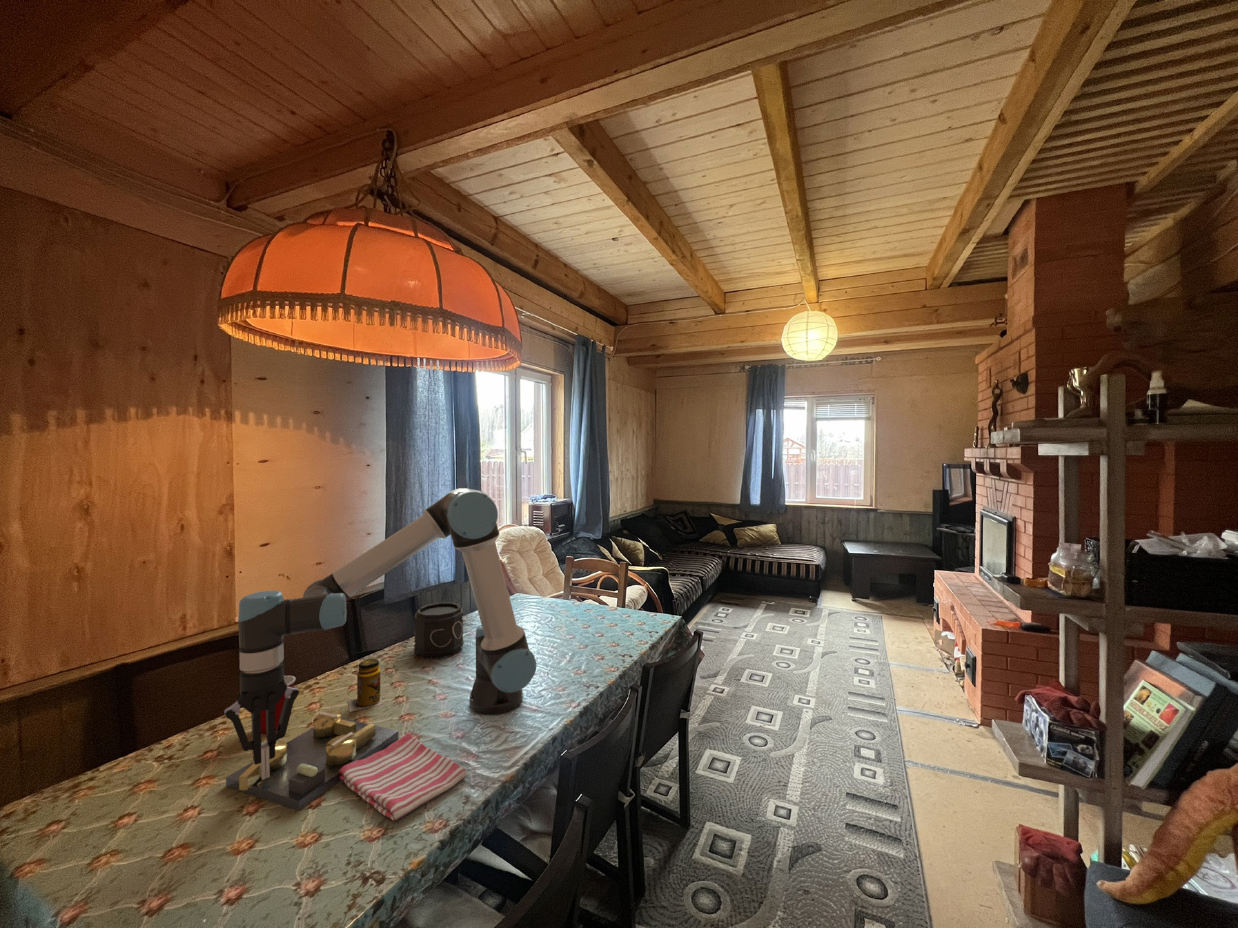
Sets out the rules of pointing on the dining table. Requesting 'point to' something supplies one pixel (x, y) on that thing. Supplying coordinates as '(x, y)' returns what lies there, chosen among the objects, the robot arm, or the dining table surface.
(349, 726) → the knob
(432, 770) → the dish towel
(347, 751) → the knob
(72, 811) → the dining table surface
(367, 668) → the condiment
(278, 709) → the plastic cup
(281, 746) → the knob
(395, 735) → the levelling plate
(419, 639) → the dark lidded canister
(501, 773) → the dining table surface
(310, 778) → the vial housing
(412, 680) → the dining table surface
